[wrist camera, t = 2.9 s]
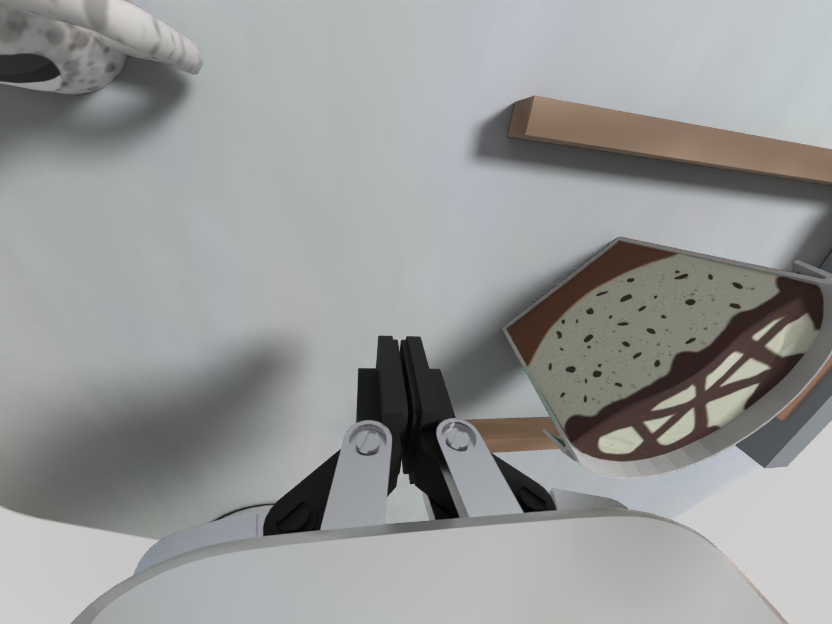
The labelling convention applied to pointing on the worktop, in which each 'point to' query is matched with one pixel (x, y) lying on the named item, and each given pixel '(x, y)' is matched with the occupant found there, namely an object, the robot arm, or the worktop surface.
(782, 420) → the end stop
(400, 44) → the worktop surface
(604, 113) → the guide track
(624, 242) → the food container
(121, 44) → the mug
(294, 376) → the worktop surface
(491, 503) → the robot arm
